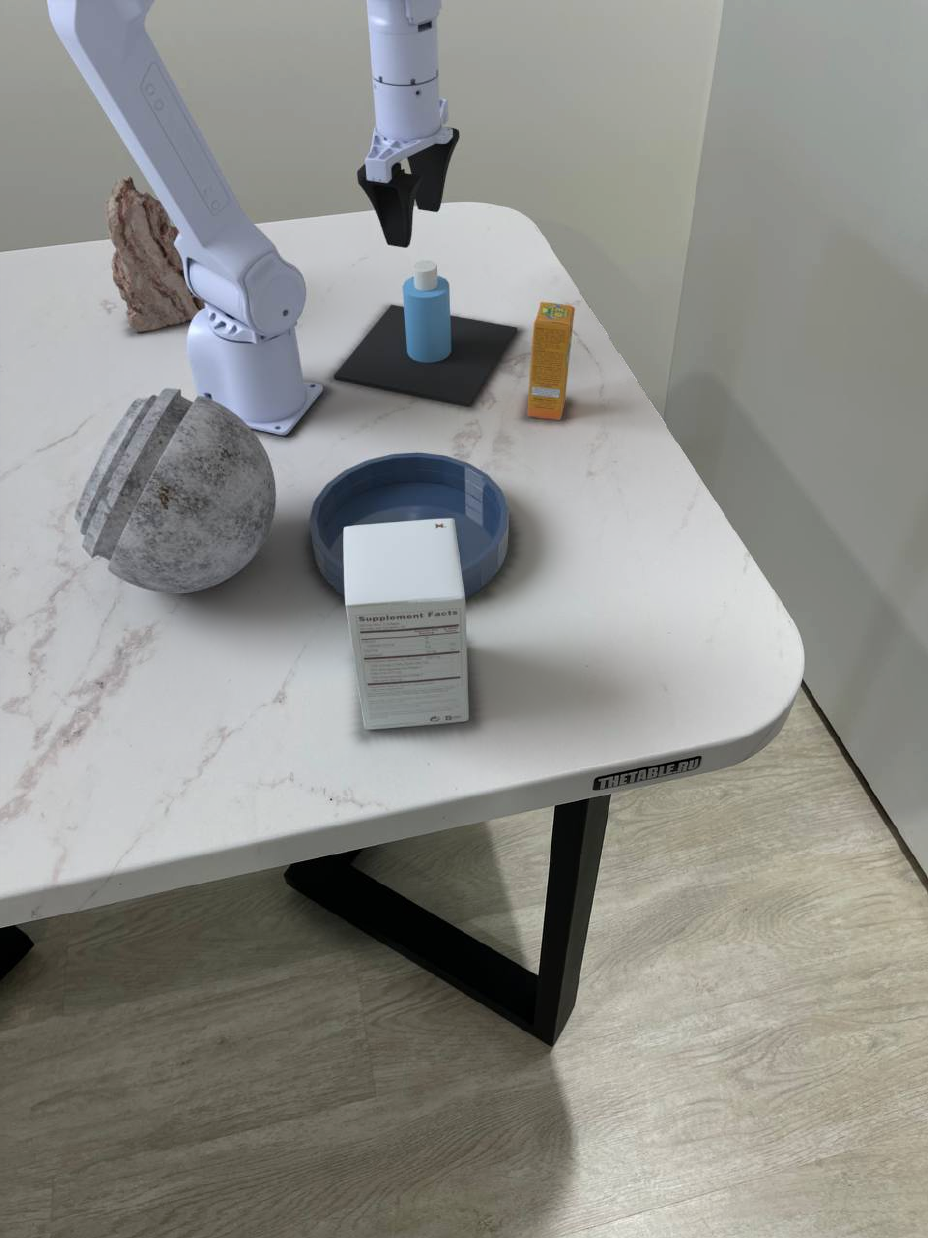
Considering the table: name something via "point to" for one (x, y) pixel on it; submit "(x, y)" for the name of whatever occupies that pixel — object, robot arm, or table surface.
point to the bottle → (427, 314)
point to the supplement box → (550, 360)
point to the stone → (147, 260)
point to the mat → (445, 380)
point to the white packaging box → (407, 622)
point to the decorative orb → (178, 495)
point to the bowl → (414, 510)
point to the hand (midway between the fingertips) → (413, 226)
